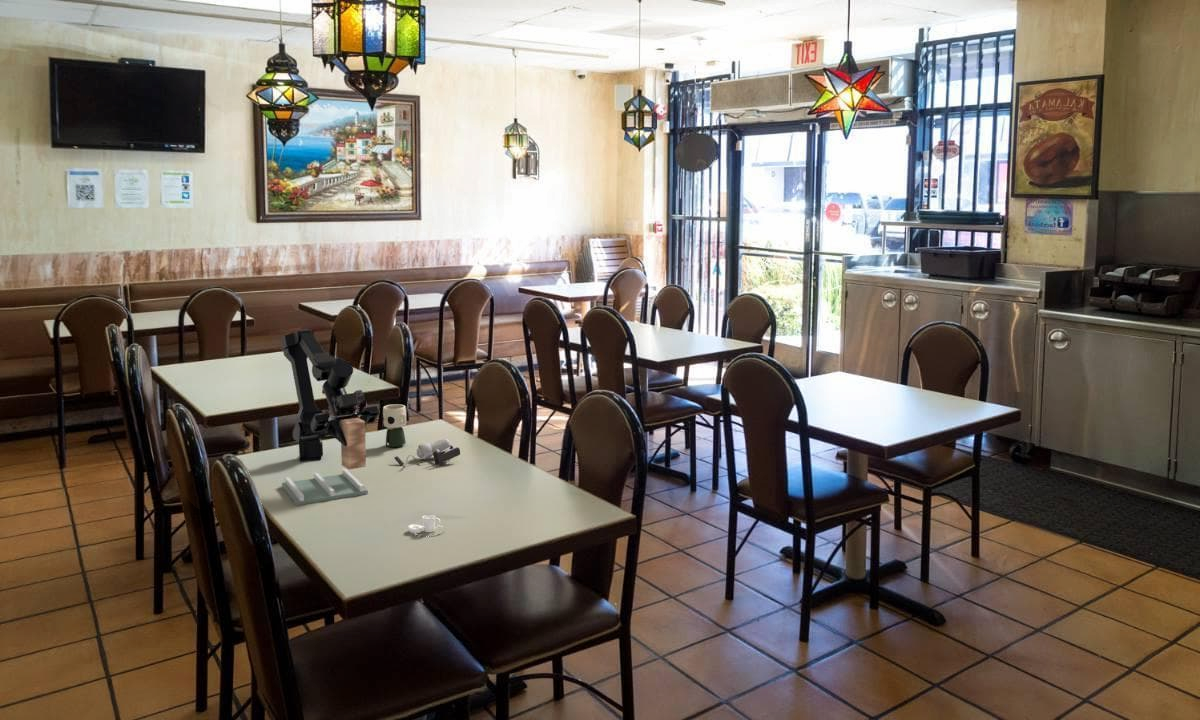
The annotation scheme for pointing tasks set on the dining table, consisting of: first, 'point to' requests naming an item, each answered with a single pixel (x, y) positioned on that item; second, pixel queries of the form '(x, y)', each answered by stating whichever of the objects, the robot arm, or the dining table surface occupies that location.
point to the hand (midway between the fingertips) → (355, 443)
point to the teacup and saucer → (424, 525)
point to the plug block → (353, 443)
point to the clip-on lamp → (434, 452)
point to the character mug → (394, 424)
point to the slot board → (323, 488)
